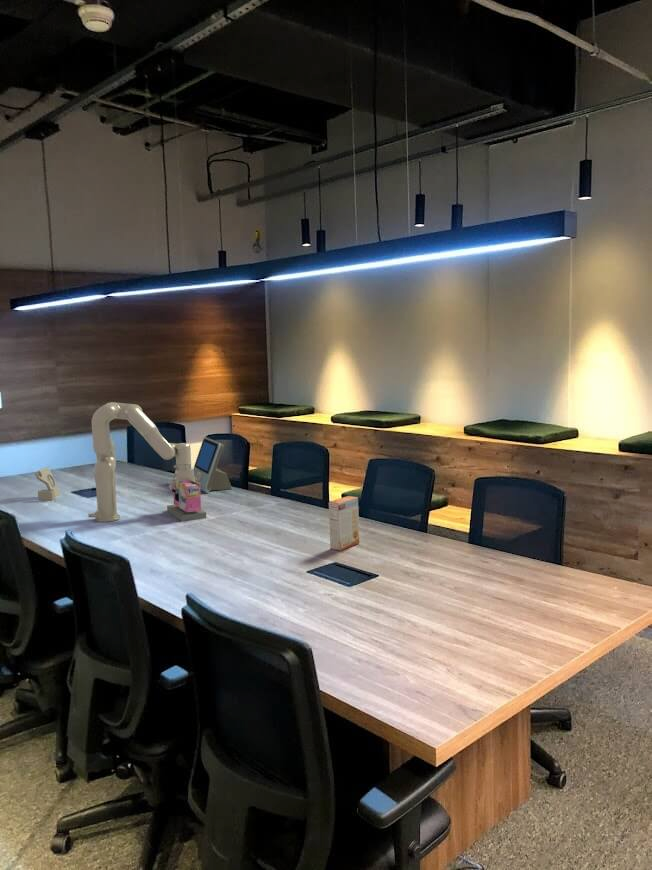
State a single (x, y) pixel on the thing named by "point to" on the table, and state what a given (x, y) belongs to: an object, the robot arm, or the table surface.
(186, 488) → the gum box
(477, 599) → the table surface
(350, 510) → the cracker box
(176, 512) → the base plinth
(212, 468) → the touchscreen device
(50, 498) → the phone holder
